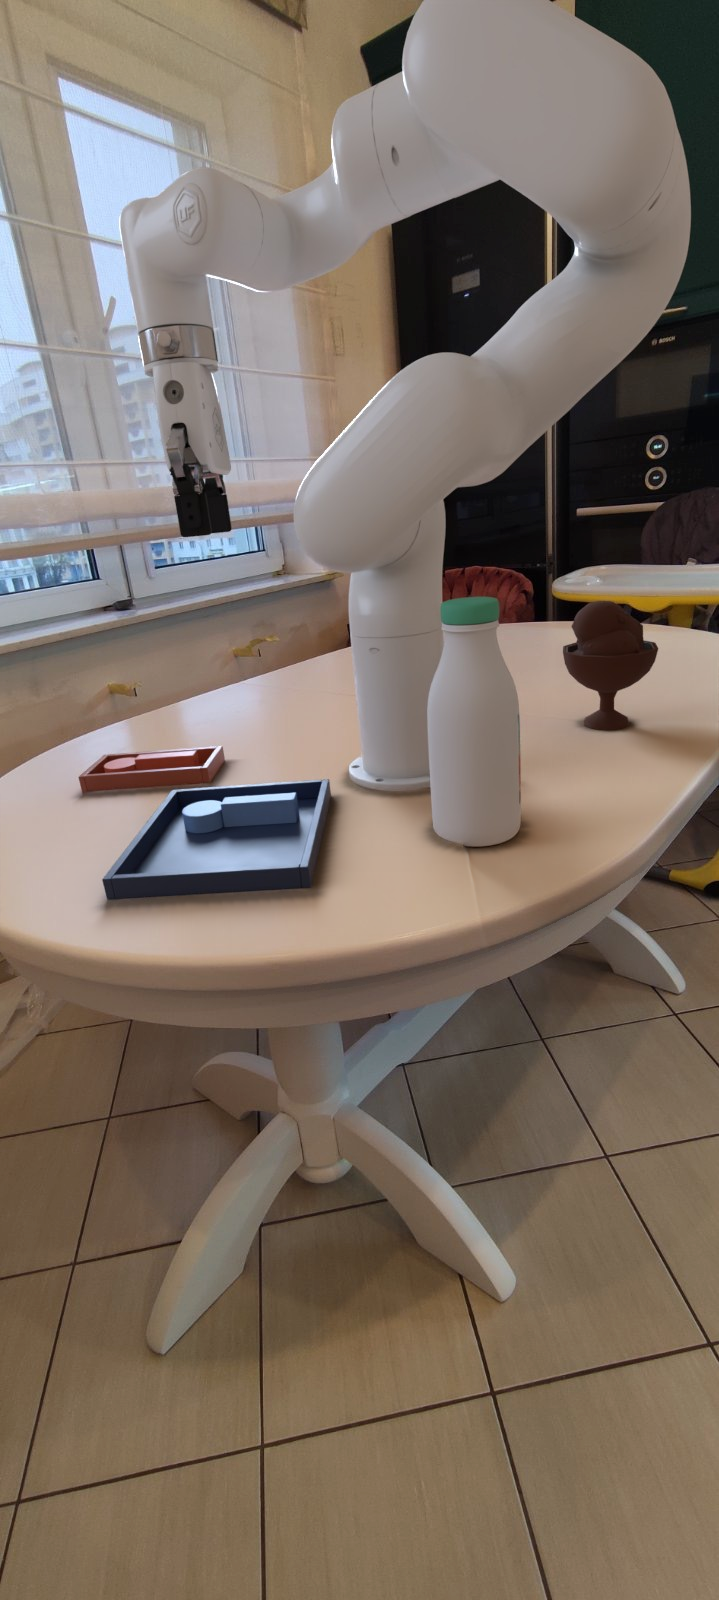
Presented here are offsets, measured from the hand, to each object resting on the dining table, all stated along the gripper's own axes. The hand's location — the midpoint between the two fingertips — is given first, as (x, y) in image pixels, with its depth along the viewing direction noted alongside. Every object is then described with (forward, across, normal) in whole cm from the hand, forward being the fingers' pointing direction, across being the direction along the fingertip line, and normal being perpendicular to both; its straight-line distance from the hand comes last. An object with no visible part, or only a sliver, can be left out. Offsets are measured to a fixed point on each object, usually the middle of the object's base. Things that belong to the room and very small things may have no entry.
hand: (208, 534), depth 80 cm
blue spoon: (+26, -21, -4) cm, 34 cm away
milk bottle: (+26, -25, -26) cm, 45 cm away
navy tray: (+26, -25, -4) cm, 37 cm away
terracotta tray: (+26, -5, +10) cm, 28 cm away
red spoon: (+26, -5, +10) cm, 28 cm away
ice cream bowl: (+26, +4, -45) cm, 52 cm away
